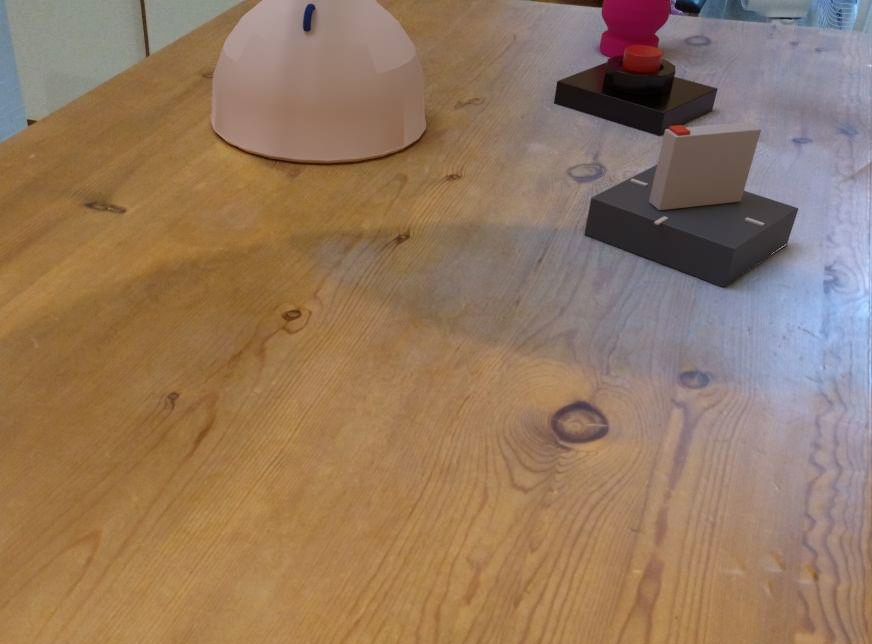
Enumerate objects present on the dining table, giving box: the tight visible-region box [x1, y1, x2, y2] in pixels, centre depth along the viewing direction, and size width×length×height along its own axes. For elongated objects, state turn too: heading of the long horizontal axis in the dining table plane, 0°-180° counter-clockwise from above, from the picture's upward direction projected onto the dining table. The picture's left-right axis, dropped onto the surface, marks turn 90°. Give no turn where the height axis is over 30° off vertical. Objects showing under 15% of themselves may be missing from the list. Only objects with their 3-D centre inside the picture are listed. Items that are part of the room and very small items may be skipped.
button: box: [622, 45, 664, 73], centre depth 102 cm, size 4×4×2 cm
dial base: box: [584, 164, 799, 288], centre depth 81 cm, size 12×11×3 cm
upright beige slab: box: [649, 121, 762, 210], centre depth 78 cm, size 7×2×6 cm, turn 106°
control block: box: [553, 55, 719, 137], centre depth 103 cm, size 12×10×4 cm
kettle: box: [209, 0, 427, 164], centre depth 94 cm, size 20×21×18 cm
